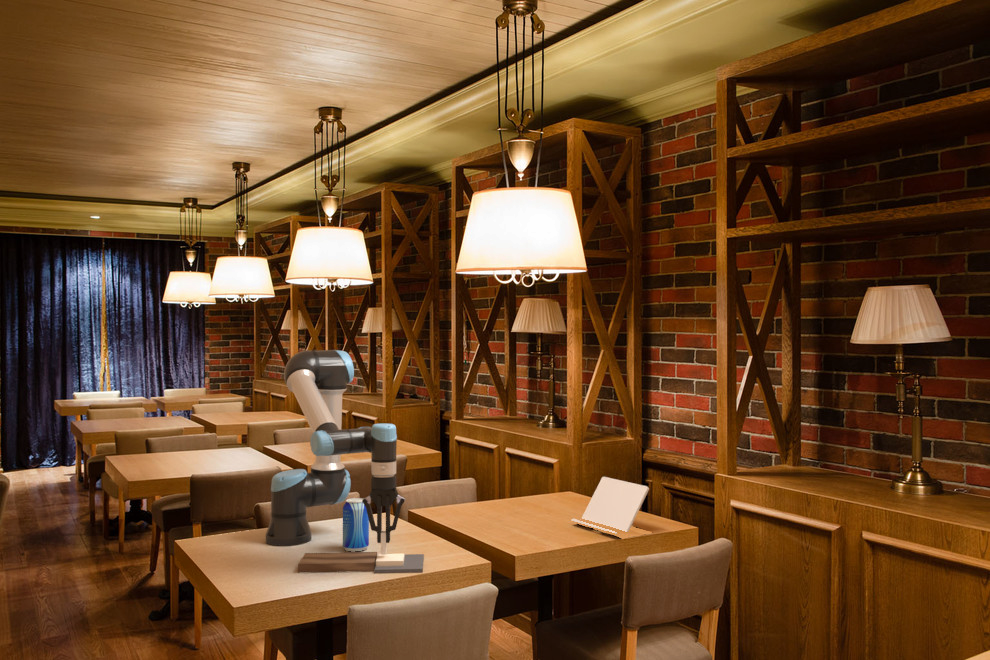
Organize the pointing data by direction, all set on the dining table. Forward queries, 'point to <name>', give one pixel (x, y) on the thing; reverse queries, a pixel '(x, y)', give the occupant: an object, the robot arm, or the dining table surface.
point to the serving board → (338, 562)
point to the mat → (404, 565)
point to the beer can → (355, 525)
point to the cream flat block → (390, 560)
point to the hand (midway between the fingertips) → (383, 553)
